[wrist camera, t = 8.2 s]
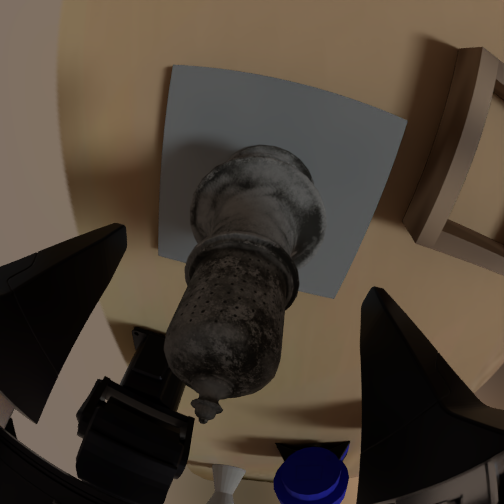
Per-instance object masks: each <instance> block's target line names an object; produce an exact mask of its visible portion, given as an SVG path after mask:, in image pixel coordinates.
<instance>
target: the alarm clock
mask: <svg viewBox="0 0 504 504" xmlns="http://www.w3.org/2000/svg"><path fill="white" fill-rule="evenodd" d="M275 444H276V446H277V448H278V450H279V452H280V454H281V456H282V458H283V460H284V461H285V462H284V463H283V464H282V465H281V466H280V468H279V469H278V470H277V472H276V475H275V477H274V490H275V493H276V495H277V497H278V499H279V501H280V503H281V504H340V503H341V501H342V500H343V498H344V496H345V492H346V489H347V484H348V479H349V475H348V470H347V468H346V466H345V464H344V463H343V460H344V458H345V457H346V455H347V452H348V448H349V444H350V441H348V442H346V443H344V444H341V445H339V446H337V447H335V448H332V449H330V450H327V449H325V448H322V447H308V448H303V449H301V450H298V451H295V450H293V449H290V448H287V447H285V446H282V445H280V444H277V443H275Z"/></svg>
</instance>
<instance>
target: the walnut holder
mask: <svg viewBox="0 0 504 504" xmlns="http://www.w3.org/2000/svg"><path fill="white" fill-rule="evenodd" d="M493 92H494V93H496V94H497V95H498V96H499V97H501V98H502V99H503V100H504V63H503V62H501V61H500V60H499V59H498V58H496V57H495V56H494V55H493V54H491V53H490V52H489V51H487V50H486V49H485V48H483V47H475V48H461V49H459V51H458V56H457V61H456V66H455V70H454V75H453V79H452V83H451V87H450V91H449V95H448V99H447V102H446V106H445V109H444V113H443V116H442V119H441V123H440V126H439V129H438V132H437V135H436V138H435V141H434V144H433V147H432V150H431V152H430V155H429V158H428V161H427V163H426V166H425V169H424V171H423V174H422V176H421V179H420V181H419V184H418V186H417V189H416V191H415V194H414V196H413V198H412V201H411V203H410V205H409V208H408V210H407V212H406V214H405V217H404V219H403V221H402V222H403V223H404V225H405V227H406V228H407V230H408V232H409V233H410V235H411V236H412V238H413V240H414V242H415V243H416V244H419V245H422V246H425V247H428V248H431V249H434V250H436V251H439V252H442V253H445V254H448V255H451V256H453V257H456V258H459V259H462V260H464V261H467V262H470V263H473V264H475V265H478V266H480V267H483V268H486V269H488V270H491V271H493V272H496V273H498V274H501V275H503V276H504V245H502V244H500V243H498V242H496V241H494V240H492V239H490V238H488V237H486V236H484V235H482V234H479V233H477V232H475V231H473V230H471V229H469V228H466V227H464V226H462V225H460V224H457V223H455V222H453V221H451V220H448V217H449V215H450V213H451V211H452V209H453V206H454V204H455V202H456V200H457V198H458V195H459V193H460V191H461V188H462V186H463V184H464V181H465V179H466V176H467V174H468V171H469V169H470V166H471V163H472V161H473V158H474V155H475V152H476V150H477V147H478V144H479V141H480V138H481V134H482V131H483V128H484V125H485V121H486V118H487V114H488V110H489V107H490V103H491V99H492V94H493Z"/></svg>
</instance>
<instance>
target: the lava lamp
mask: <svg viewBox="0 0 504 504" xmlns="http://www.w3.org/2000/svg"><path fill="white" fill-rule="evenodd" d="M212 469H213V478H214V486H215V493H214V494H213V496H212V497H211V498H210V500H209V501H208V502H207V504H234V502H233V497H232V494H233V492H234V491H235V489H236V487H237V486H238V484H239V482H240V480H241V479H242V477H243V475H244V474H245V472H246V471H245V470H243V469H241V468H237V467H233V466H228V465H220V464H213V465H212Z"/></svg>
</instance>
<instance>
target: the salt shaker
mask: <svg viewBox="0 0 504 504" xmlns="http://www.w3.org/2000/svg"><path fill="white" fill-rule="evenodd" d="M190 225H191V228H192V231H193V234H194V238H195V240H196V241H197V243H198V244H197V245H196V246H195V247H194V249H193V250H192V252H191V253H190V255H189V256H188V258H187V262H186V266H185V280H186V283H187V286H188V287H187V289H186V291H185V293H184V295H183V297H182V299H181V301H180V303H179V305H178V308H177V310H176V312H175V314H174V316H173V318H172V321H171V323H170V325H169V327H168V329H167V332H166V337H165V343H164V353H165V356H166V359H167V362H168V365H169V367H170V369H171V370H172V372H173V373H174V374H175V375H176V376H177V377H178V378H179V379H180V380H181V381H182V382H183V383H184V384H186V385H187V386H188V387H190V388H192V389H193V390H195V391H196V392H197V393H199V398H198V399H194V400H192V402H191V405H192V406H193V408H195V414H196V416H197V417H199V422H200V423H202V424H205V423H207V421H208V420H211V419H213V418H214V417H215V415H216V414H219V413H221V412H222V411H223V409H222V408H221V406H220V405H219V403H218V401H219V399H227V398H236V397H241V396H245V395H249V394H253V393H255V392H257V391H259V390H261V389H262V388H263V387H264V386H266V385H267V384H268V383H269V382H270V381H271V380H272V379H273V378H274V376H275V374H276V371H277V369H278V366H279V362H280V359H281V348H282V337H283V326H284V314H285V310H287V309H288V308H289V307H290V306H291V305H292V303H293V301H294V300H295V298H296V297H297V293H298V289H299V284H300V283H299V274H298V270H299V269H301V268H302V267H304V266H305V265H306V264H307V263H308V262H309V261H310V260H311V259H312V258H313V257H314V256H315V255H316V254H317V252H318V250H319V248H320V247H321V245H322V243H323V241H324V237H325V232H326V228H327V221H326V209H325V206H324V203H323V201H322V198H321V196H320V193H319V191H318V190H317V189H316V187H315V186H314V181H313V179H312V176H311V174H310V172H309V170H308V168H307V167H306V166H305V165H304V163H303V162H302V161H301V160H300V159H299V158H298V157H296V156H295V155H294V154H292V153H291V152H290V151H287V150H285V149H282V148H279V147H277V146H269V145H257V146H251V147H247V148H245V149H243V150H241V151H239V152H236V153H235V154H234V155H233V156H232V157H231V158H229V159H228V160H227V161H226V162H224V163H222V164H220V165H218V166H216V167H215V168H214V169H212V170H211V171H210V172H209V173H208V174H207V175H206V176H205V177H204V178H202V180H201V181H200V183H199V185H198V186H197V188H196V190H195V191H194V193H193V197H192V201H191V205H190Z"/></svg>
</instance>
